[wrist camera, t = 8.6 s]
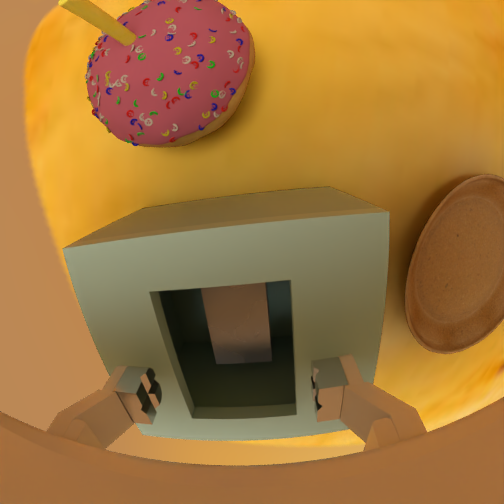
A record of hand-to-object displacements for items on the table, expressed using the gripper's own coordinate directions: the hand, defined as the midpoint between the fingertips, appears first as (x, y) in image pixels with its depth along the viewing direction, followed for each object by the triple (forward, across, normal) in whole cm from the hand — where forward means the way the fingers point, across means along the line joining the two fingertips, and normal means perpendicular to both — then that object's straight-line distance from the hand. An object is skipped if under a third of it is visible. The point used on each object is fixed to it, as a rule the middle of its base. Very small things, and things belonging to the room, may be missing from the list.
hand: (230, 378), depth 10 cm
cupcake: (+10, +2, -13) cm, 16 cm away
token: (+9, 0, 0) cm, 9 cm away
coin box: (+10, 0, 0) cm, 10 cm away
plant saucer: (+10, -18, +1) cm, 21 cm away
